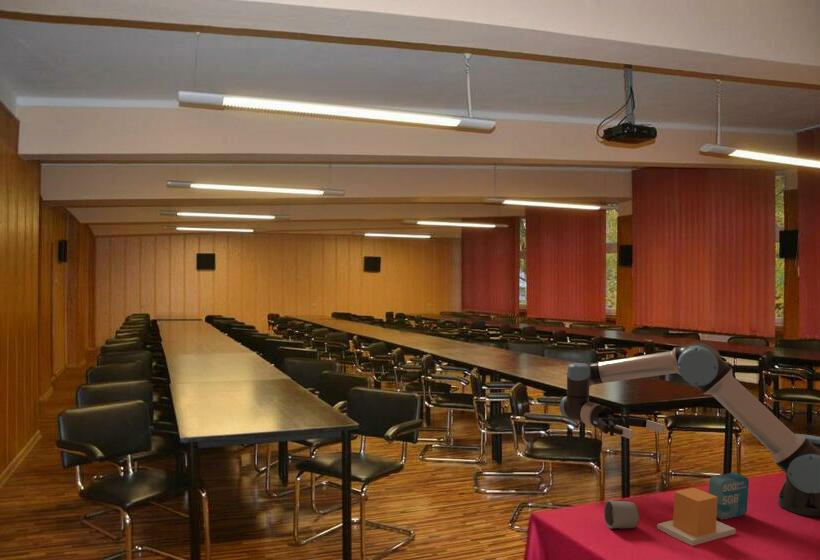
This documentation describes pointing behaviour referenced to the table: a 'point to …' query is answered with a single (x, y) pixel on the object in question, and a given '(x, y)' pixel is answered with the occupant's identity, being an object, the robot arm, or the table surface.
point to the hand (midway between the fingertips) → (648, 432)
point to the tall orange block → (695, 511)
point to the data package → (730, 494)
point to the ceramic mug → (621, 514)
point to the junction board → (720, 532)
